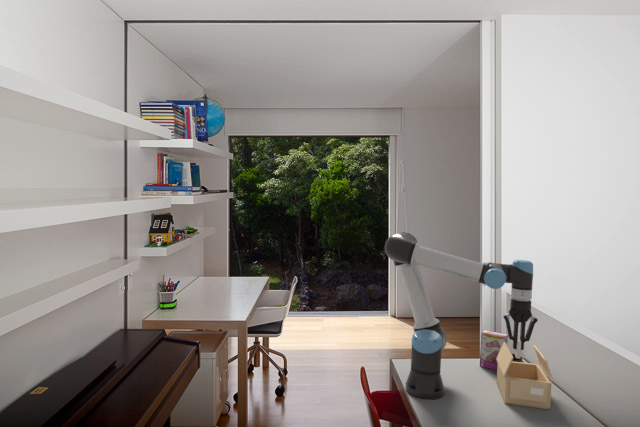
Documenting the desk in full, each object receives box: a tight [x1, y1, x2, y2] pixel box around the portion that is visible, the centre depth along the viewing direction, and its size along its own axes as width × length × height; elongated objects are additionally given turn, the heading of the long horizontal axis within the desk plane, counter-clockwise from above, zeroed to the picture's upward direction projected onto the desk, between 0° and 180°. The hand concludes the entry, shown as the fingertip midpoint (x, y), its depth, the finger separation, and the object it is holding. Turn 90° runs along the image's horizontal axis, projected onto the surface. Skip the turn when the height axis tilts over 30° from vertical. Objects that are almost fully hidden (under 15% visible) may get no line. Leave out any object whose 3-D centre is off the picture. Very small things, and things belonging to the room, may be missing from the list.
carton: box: [496, 361, 552, 410], centre depth 180 cm, size 16×22×10 cm
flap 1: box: [496, 342, 514, 376], centre depth 181 cm, size 8×19×1 cm
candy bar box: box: [479, 329, 509, 371], centre depth 209 cm, size 11×5×16 cm, turn 58°
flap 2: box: [533, 344, 554, 383], centre depth 178 cm, size 8×19×1 cm
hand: (517, 357), depth 180 cm, fingers closed
